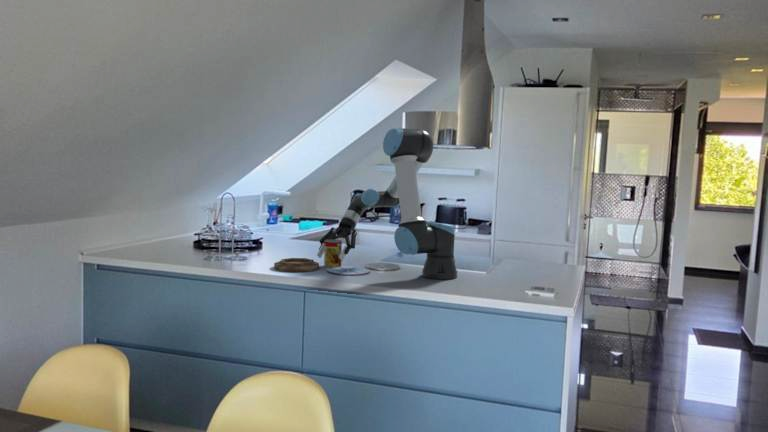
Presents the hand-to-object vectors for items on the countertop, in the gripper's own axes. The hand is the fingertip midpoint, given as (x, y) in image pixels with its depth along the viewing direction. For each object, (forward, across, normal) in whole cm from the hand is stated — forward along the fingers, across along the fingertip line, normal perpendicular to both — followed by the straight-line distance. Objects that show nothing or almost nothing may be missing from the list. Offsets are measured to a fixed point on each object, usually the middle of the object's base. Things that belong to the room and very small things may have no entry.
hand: (329, 257), depth 286 cm
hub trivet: (+11, +10, +5) cm, 16 cm away
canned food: (+1, 0, -5) cm, 5 cm away
